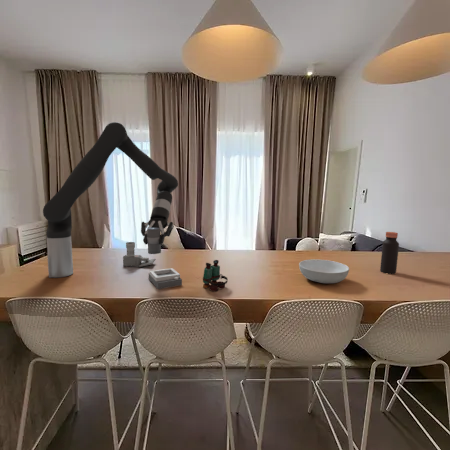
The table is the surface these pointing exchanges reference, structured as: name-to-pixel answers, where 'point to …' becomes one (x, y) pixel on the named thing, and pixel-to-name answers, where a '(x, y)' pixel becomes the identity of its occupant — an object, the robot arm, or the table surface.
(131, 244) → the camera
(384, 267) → the bottle
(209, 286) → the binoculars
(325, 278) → the serving bowl
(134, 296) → the table surface
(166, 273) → the plate
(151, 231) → the lens
